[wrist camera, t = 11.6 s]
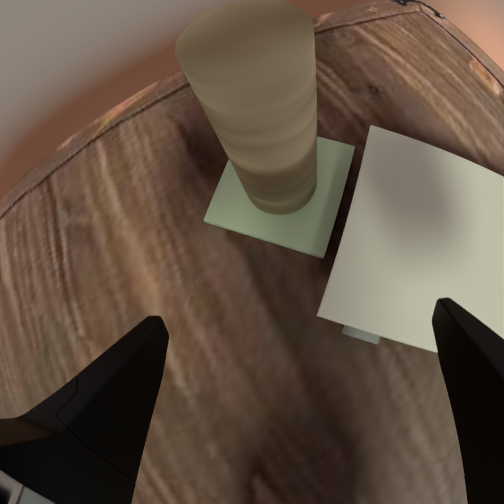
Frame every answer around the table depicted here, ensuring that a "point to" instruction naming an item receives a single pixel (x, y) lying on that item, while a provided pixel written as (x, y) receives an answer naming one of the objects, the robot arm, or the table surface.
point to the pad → (295, 224)
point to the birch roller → (259, 95)
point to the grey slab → (417, 243)
